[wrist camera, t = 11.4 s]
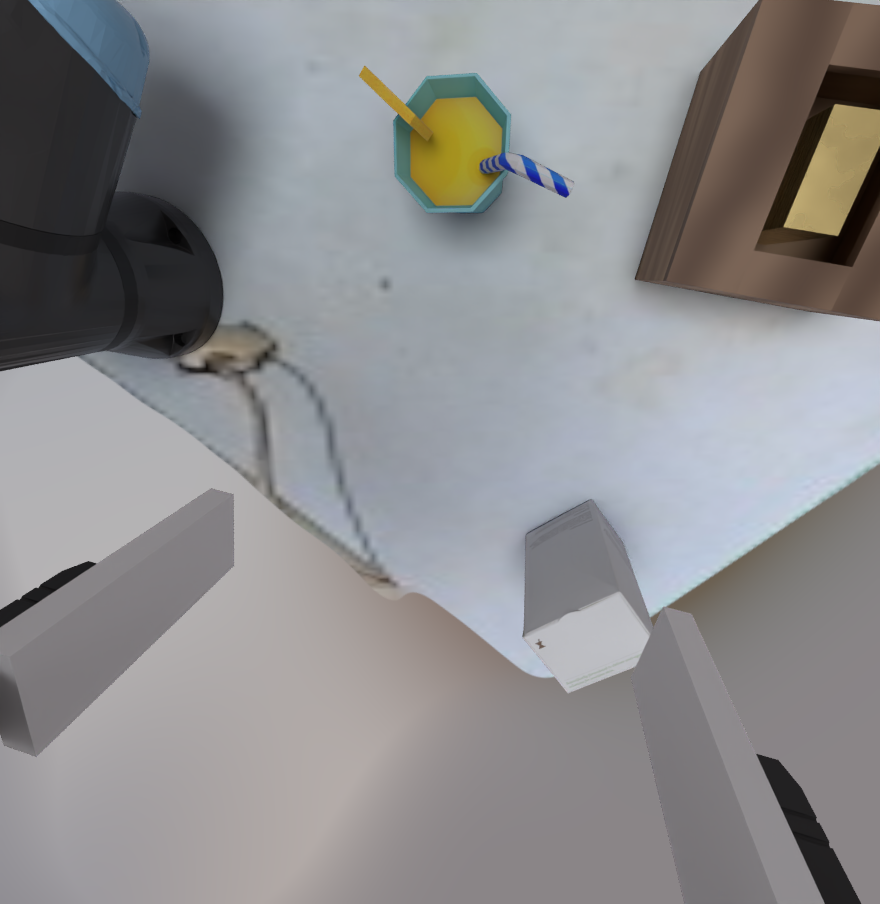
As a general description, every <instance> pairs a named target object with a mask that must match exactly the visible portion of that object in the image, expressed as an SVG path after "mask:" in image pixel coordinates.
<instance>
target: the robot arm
mask: <svg viewBox="0 0 880 904" xmlns="http://www.w3.org/2000/svg"><path fill="white" fill-rule="evenodd" d="M148 65H149V47H148V43H147V40H146V37H145V35H144V33H143V31H142V29H141V27H140V26H139V24H138V22H137V21H136V20H135V18H134V17H133V16H132V15H131V14H130V13H129V12H128V11H127V10H126V9H125V8H124V7H123V6H122V5H121V4H119V3H118V2H117V1H116V0H0V371H4V370H9V369H14V368H19V367H24V366H29V365H34V364H39V363H44V362H49V361H55V360H60V359H64V358H70V357H75V356H80V355H85V354H90V353H95V352H100V351H111V352H116V353H122V354H127V355H133V356H139V357H144V358H151V359H164V358H171V357H175V356H179V355H184V354H187V353H190V352H192V351H194V350H196V349H198V348H199V347H201V346H202V345H203V344H204V343H205V342H206V341H207V340H208V339H209V338H210V336H211V335H212V333H213V332H214V330H215V328H216V326H217V323H218V321H219V318H220V314H221V308H222V282H221V277H220V272H219V268H218V265H217V262H216V259H215V257H214V254H213V252H212V250H211V248H210V246H209V244H208V242H207V241H206V239H205V238H204V236H203V234H202V233H201V232H200V230H199V229H198V228H197V227H196V225H195V224H194V223H193V222H192V221H191V220H190V219H189V218H188V217H187V216H186V215H185V214H184V213H182V212H181V211H180V210H178V209H177V208H176V207H174V206H172V205H171V204H169V203H167V202H165V201H163V200H161V199H158V198H155V197H151V196H147V195H142V194H137V193H131V192H115V189H116V186H117V182H118V179H119V176H120V172H121V169H122V165H123V162H124V159H125V155H126V152H127V149H128V145H129V142H130V138H131V135H132V132H133V128H134V125H135V121H136V118H139V119H140V117H141V114H142V113H141V109H140V107H139V104H140V100H141V95H142V91H143V86H144V82H145V77H146V73H147V69H148ZM233 502H234V500H233V494H230V493H227V492H223V491H219V490H215V489H210V490H208V491H206V492H205V493H203V494H202V495H200V496H199V497H197V498H196V499H194V500H193V501H191V502H190V503H188V504H187V505H185V506H184V507H182V508H181V509H179V510H178V511H177V512H175V513H173V514H172V515H170V516H169V517H167V518H166V519H164V520H163V521H161V522H159V523H158V524H156V525H155V526H154V527H152V528H150V529H149V530H147V531H146V532H144V533H143V534H141V535H140V536H139V537H137V538H135V539H134V540H132V541H131V542H129V543H128V544H126V545H125V546H123V547H122V548H120V549H119V550H117V551H116V552H114V553H112V554H111V555H109V556H108V557H107V558H105V559H103V560H102V561H101V562H99V563H97V564H96V563H93V562H89V561H88V562H85V563H82V564H80V565H77V566H74V567H72V568H69V569H67V570H64V571H62V572H60V573H58V574H57V575H55V576H54V577H52V578H50V579H49V580H47V581H46V582H44V583H42V584H41V585H40V587H39V588H34V589H33V590H31V591H30V592H28V593H26V594H25V595H23V596H22V598H21V599H20V600H15V601H14V602H12V603H10V604H9V605H7V606H6V607H4V608H3V609H1V610H0V735H1V738H2V741H3V744H4V746H7V747H10V748H13V749H15V750H18V751H21V752H24V753H27V754H30V755H32V756H35V757H37V756H38V755H39V754H40V753H41V752H42V751H43V750H44V749H45V748H46V747H47V746H48V745H49V744H50V743H51V742H52V741H53V740H54V739H55V738H56V737H57V736H58V735H59V734H60V733H61V732H62V731H63V730H64V729H66V728H67V726H69V725H70V724H71V723H72V722H73V721H74V720H75V719H76V718H77V717H78V716H79V715H80V714H81V713H82V712H83V711H84V710H85V709H86V708H87V707H88V706H89V705H90V704H91V703H92V702H93V701H94V700H96V699H97V698H98V697H99V696H100V694H102V693H103V692H104V691H105V690H106V689H107V688H108V687H109V686H110V685H111V684H112V683H113V682H114V681H115V680H116V679H117V678H118V677H119V676H120V675H121V674H123V673H124V671H125V670H127V668H129V667H130V666H131V665H132V664H133V663H134V662H135V661H136V660H137V659H138V658H139V657H140V656H141V655H142V654H143V653H144V652H145V651H146V650H147V649H148V648H149V647H150V646H151V645H152V644H153V643H155V642H156V640H158V639H159V638H160V637H161V636H162V635H163V634H164V633H165V632H166V631H167V630H168V629H169V628H170V627H171V626H172V625H173V624H174V623H175V622H176V621H177V620H178V619H179V618H180V617H182V616H183V615H184V614H185V613H186V611H188V610H189V609H190V608H191V607H192V606H193V605H194V604H195V603H196V602H197V601H198V600H199V599H200V598H201V597H202V596H203V595H204V594H205V593H206V592H207V591H208V590H209V589H210V588H211V587H213V586H214V585H215V584H216V583H217V582H218V581H219V580H220V579H221V578H222V577H223V576H224V575H225V574H226V573H227V572H228V571H229V570H230V569H231V568H232V567H233V566H234V510H233V509H234V503H233ZM631 680H632V684H633V688H634V692H635V697H636V701H637V705H638V709H639V714H640V718H641V722H642V726H643V731H644V735H645V739H646V743H647V748H648V752H649V756H650V760H651V765H652V769H653V773H654V777H655V781H656V786H657V790H658V794H659V798H660V803H661V807H662V811H663V815H664V820H665V824H666V828H667V832H668V837H669V841H670V845H671V849H672V853H673V858H674V862H675V866H676V870H677V874H678V879H679V883H680V887H681V892H682V896H683V900H684V904H861V902H860V900H859V899H858V897H857V895H856V893H855V891H854V889H853V887H852V885H851V883H850V881H849V879H848V878H847V875H846V873H845V872H844V870H843V868H842V866H841V864H840V862H839V860H838V858H837V856H836V854H835V852H834V850H833V849H832V848H830V847H829V841H828V839H827V837H826V835H825V833H824V831H823V829H822V827H821V825H820V823H817V821H816V818H817V817H816V815H815V813H814V812H813V810H812V808H811V806H810V804H809V802H808V800H807V798H806V796H805V794H804V792H803V790H802V788H801V787H800V786H799V785H798V783H797V782H796V781H795V780H794V779H793V778H792V776H791V775H790V774H789V773H788V771H787V770H786V769H785V768H784V766H783V765H782V764H781V763H780V762H779V760H776V759H772V758H769V757H765V756H762V755H758V754H756V753H755V751H754V749H753V746H752V744H751V742H750V740H749V738H748V735H747V733H746V731H745V729H744V727H743V725H742V722H741V720H740V718H739V716H738V714H737V712H736V709H735V707H734V705H733V703H732V701H731V698H730V696H729V694H728V692H727V690H726V688H725V686H724V683H723V681H722V679H721V677H720V675H719V672H718V670H717V668H716V666H715V664H714V662H713V659H712V657H711V655H710V653H709V651H708V648H707V646H706V644H705V642H704V640H703V638H702V635H701V633H700V631H699V629H698V627H697V625H696V622H695V620H694V618H693V616H692V614H690V613H686V612H682V611H679V610H675V609H671V608H667V607H663V609H662V611H661V613H660V615H659V617H658V619H657V622H656V624H655V626H654V628H653V630H652V632H651V635H650V637H649V639H648V641H647V643H646V645H645V648H644V650H643V652H642V654H641V656H640V658H639V661H638V663H637V665H636V667H635V669H634V672H633V674H632V676H631Z"/></svg>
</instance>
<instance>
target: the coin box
mask: <svg viewBox="0 0 880 904" xmlns="http://www.w3.org/2000/svg"><path fill="white" fill-rule="evenodd" d="M834 104H838V105H846V106H853V107H861V108H868V109H876V110H880V5H871V4H862V3H852V2H843V1H834V0H759V1H758V2H757V3H756V4H755V6H754V7H753V8H752V9H751V11H750V12H749V13H748V14H747V16H746V17H745V18H744V19H743V20H742V22H741V23H740V24H739V25H738V27H737V28H736V29H735V30H734V31H733V33H732V34H731V35H730V36H729V38H728V39H727V40H726V41H725V43H724V44H723V45H722V46H721V47H720V49H719V50H718V51H717V52H716V54H715V55H714V56H713V57H712V58H711V60H710V61H709V62H708V63H707V65H706V66H705V67H704V68H703V70H702V71H701V72H700V75H699V78H698V81H697V84H696V88H695V91H694V94H693V97H692V100H691V103H690V106H689V110H688V113H687V116H686V119H685V122H684V125H683V129H682V132H681V135H680V138H679V141H678V144H677V147H676V151H675V154H674V157H673V160H672V163H671V166H670V170H669V173H668V176H667V179H666V182H665V185H664V188H663V192H662V195H661V198H660V201H659V204H658V207H657V211H656V214H655V217H654V220H653V223H652V226H651V229H650V233H649V236H648V239H647V242H646V245H645V248H644V252H643V255H642V258H641V261H640V264H639V267H638V271H637V274H636V277H635V280H640V281H646V282H651V283H657V284H662V285H668V286H673V287H678V288H684V289H689V290H695V291H700V292H706V293H711V294H717V295H722V296H728V297H733V298H739V299H744V300H750V301H755V302H760V303H766V304H771V305H777V306H782V307H788V308H793V309H799V310H804V311H810V312H816V313H823V314H830V315H838V316H845V317H852V318H860V319H867V320H874V321H880V146H879V149H878V151H877V153H876V155H875V157H874V159H873V162H872V164H871V166H870V168H869V170H868V172H867V174H866V177H865V179H864V181H863V183H862V185H861V187H860V189H859V192H858V194H857V196H856V198H855V200H854V202H853V205H852V207H851V209H850V211H849V213H848V215H847V217H846V220H845V222H844V224H843V226H842V228H841V230H840V233H839V235H838V236H833V237H826V238H818V239H810V240H802V241H794V242H786V243H778V244H771V245H763V244H757V242H758V239H759V237H760V234H761V232H762V229H763V227H764V224H765V222H766V219H767V217H768V214H769V212H770V209H771V207H772V204H773V202H774V199H775V197H776V195H777V192H778V190H779V187H780V185H781V182H782V180H783V177H784V175H785V172H786V170H787V167H788V165H789V162H790V160H791V157H792V155H793V152H794V150H795V147H796V145H797V142H798V140H799V138H800V135H801V133H802V130H803V128H804V125H805V123H806V120H808V119H810V118H811V117H813V116H815V115H817V114H818V113H820V112H822V111H824V110H825V109H827V108H829V107H831V106H832V105H834Z"/></svg>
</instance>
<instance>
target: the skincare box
mask: <svg viewBox="0 0 880 904" xmlns="http://www.w3.org/2000/svg"><path fill="white" fill-rule="evenodd" d="M652 630H653V625H652V623H651V619H650V617H649V614H648V611H647V608H646V606H645V603H644V600H643V597H642V594H641V592H640V589H639V586H638V583H637V580H636V578H635V575H634V572H633V569H632V566H631V564H630V561H629V558H628V555H627V553H626V550H625V546H624V544H623V542H622V541H621V539H620V538H619V536H618V535H617V534H616V532H615V531H614V529H613V528H612V527H611V525H610V524H609V522H608V521H607V520H606V518H605V517H604V515H603V514H602V513H601V511H600V510H599V508H598V507H597V506H596V504H595V503H594V502H593V500H592V499H591V500H589V501H587V502H585V503H583V504H581V505H579V506H578V507H576V508H574V509H572V510H570V511H568V512H566V513H565V514H563V515H561V516H559V517H557V518H555V519H554V520H552V521H550V522H548V523H546V524H544V525H543V526H541V527H539V528H537V529H535V530H533V531H532V532H530V533H528V534H526V545H525V600H524V630H523V636H522V637H523V639H524V640H525V641H526V642H527V644H528V645H529V646H530V647H531V649H532V650H533V651H534V652H535V653H536V655H537V656H538V657H539V658H540V659H541V661H542V662H543V663H544V664H545V665H546V667H547V668H548V669H549V670H550V672H551V673H552V674H553V675H554V676H555V678H556V679H557V680H558V681H559V683H560V684H561V685H562V687H563V688H564V689H565V690H566V692H567V693H570V692H572V691H575V690H577V689H580V688H582V687H585V686H587V685H589V684H592V683H595V682H597V681H600V680H602V679H605V678H607V677H610V676H613V675H615V674H618V673H621V672H623V671H626V670H628V669H631V668H633V667H636V665H637V663H638V661H639V658H640V656H641V654H642V652H643V650H644V648H645V645H646V643H647V641H648V639H649V637H650V635H651V632H652Z"/></svg>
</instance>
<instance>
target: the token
mask: <svg viewBox="0 0 880 904" xmlns="http://www.w3.org/2000/svg"><path fill="white" fill-rule="evenodd" d="M879 146H880V110H876V109H868V108H861V107H853V106H846V105H838V104H834V105H832V106H831V107H829V108H827V109H825V110H824V111H822V112H820V113H818V114H817V115H815V116H813V117H811V118H810V119H808V120H806V123H805V125H804V128H803V130H802V133H801V135H800V138H799V140H798V142H797V145H796V147H795V150H794V152H793V155H792V157H791V160H790V162H789V165H788V167H787V170H786V172H785V175H784V177H783V180H782V182H781V185H780V187H779V190H778V192H777V195H776V197H775V199H774V202H773V204H772V207H771V209H770V212H769V214H768V217H767V219H766V222H765V224H764V227H763V229H762V232H761V234H760V237H759V239H758V242H757V244H763V245H771V244H778V243H786V242H794V241H802V240H810V239H818V238H826V237H833V236H838V235H839V233H840V230H841V228H842V226H843V224H844V222H845V220H846V217H847V215H848V213H849V211H850V209H851V207H852V205H853V202H854V200H855V198H856V196H857V194H858V192H859V189H860V187H861V185H862V183H863V181H864V179H865V177H866V174H867V172H868V170H869V168H870V166H871V164H872V162H873V159H874V157H875V155H876V153H877V151H878V149H879Z"/></svg>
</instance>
